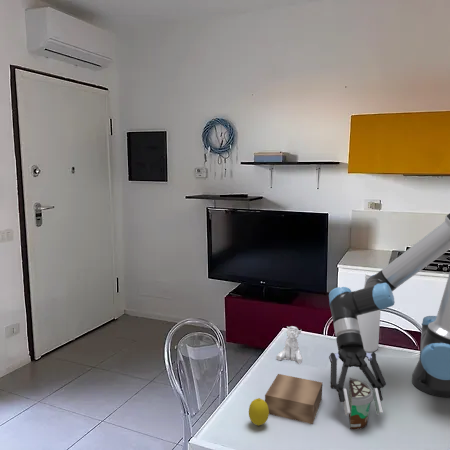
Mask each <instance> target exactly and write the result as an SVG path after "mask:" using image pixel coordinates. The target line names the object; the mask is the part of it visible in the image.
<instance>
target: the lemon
mask: <svg viewBox="0 0 450 450" xmlns="http://www.w3.org/2000/svg"><path fill="white" fill-rule="evenodd" d="M269 416H270V414H269V409H268V405H267V403H266V402H265V399H262V398H259V397H258V398H255V399H253V400H252V401H251V403H250V404H249V408H248V417H249V420H250V422H252V423H253V424H254V425H255V426H256V425H257V426H261V425H264V424H265V423H267V422H268V419H269Z"/></svg>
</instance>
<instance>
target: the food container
mask: <svg viewBox="0 0 450 450" xmlns="http://www.w3.org/2000/svg"><path fill="white" fill-rule="evenodd" d="M371 387H372V386H371V385H369V384H368V383H367V382H365V381H363V380H362V379H358V378H354V377H349V379H348V401H349V407H350V412H351V413H350V414H349V415H347V417H348V424H349V430H353V431H354V430H360V429H363V428H365V427H367V425H368V418H369V414H370V413H369V412H370V407H371V406H370V405H371V402H372V401H374V399H373V393H372V390H373V389H372V388H371Z"/></svg>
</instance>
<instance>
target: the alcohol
mask: <svg viewBox="0 0 450 450" xmlns="http://www.w3.org/2000/svg"><path fill="white" fill-rule="evenodd" d="M375 274H376V273H375V272H366V273H365V276H364V279H365V281H364V287H365V285H366V282H367V280H368V279H369V278H370V277H371V276H372V275H375ZM364 287H363V288H364ZM381 310H382V309H381ZM381 310H377V311H373V312H369V313H365V314H362V315H358V316H357V319H358V324H359V328H360V335H361V338H362V342H363V347H364V350H365V351H366V353H373V352H374V353H375V352H376V351H377V349H379V341H380V340H379V337H380V324H381Z"/></svg>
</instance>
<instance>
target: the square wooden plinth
mask: <svg viewBox="0 0 450 450" xmlns="http://www.w3.org/2000/svg"><path fill="white" fill-rule="evenodd" d="M322 399H323V382H322V381H316V380H313V379H306V378H302V377H295V376H291V375H286V374H281V373H277V374H276V377H274V380H273V381H272V383H271V384H270V386H269V388H268V389H267V391H266V393H265V395H264V401H265V402H266V403H267V405H268V409H269V415H273V416H276V417H280V418H285V419H289V420H293V421H297V422H301V423H306V424H310V425H313V424H314V421H315V419H316V417H317V413H318V410H319V408H320V405H321V404H322V401H323V400H322Z"/></svg>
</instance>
